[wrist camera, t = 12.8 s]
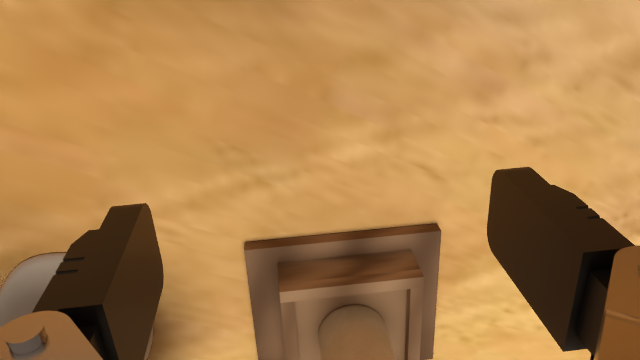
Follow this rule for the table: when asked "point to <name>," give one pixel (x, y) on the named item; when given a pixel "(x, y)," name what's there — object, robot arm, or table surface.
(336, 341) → the candle
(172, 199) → the table surface
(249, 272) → the display pedestal
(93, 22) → the table surface
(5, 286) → the mannequin bust
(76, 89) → the table surface
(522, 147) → the table surface
